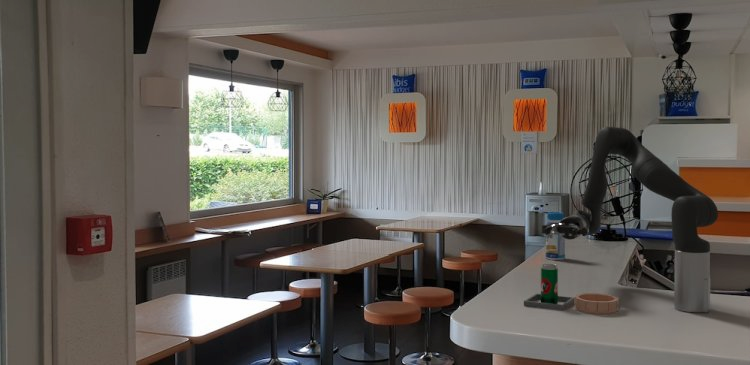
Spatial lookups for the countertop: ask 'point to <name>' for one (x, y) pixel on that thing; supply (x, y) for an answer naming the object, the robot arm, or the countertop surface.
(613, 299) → the bowl
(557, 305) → the tray
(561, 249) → the beverage bottle
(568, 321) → the countertop surface
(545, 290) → the soda can
